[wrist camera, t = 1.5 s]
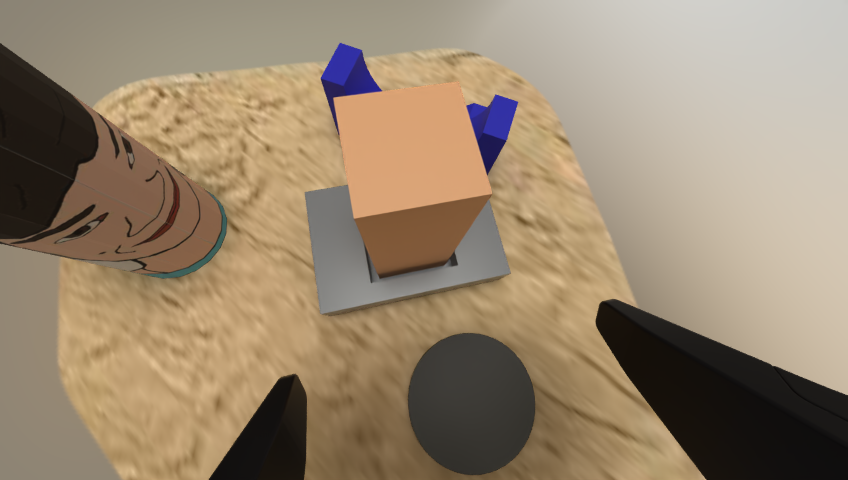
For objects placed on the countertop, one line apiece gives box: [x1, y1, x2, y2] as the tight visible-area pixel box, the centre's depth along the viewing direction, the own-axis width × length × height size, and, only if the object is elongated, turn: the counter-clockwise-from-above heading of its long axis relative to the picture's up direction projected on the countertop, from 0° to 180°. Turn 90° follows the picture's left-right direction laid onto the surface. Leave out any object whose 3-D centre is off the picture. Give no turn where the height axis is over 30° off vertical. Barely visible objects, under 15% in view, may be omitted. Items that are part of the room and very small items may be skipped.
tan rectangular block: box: [333, 81, 492, 279], centre depth 16 cm, size 5×5×12 cm
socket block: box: [305, 185, 511, 316], centre depth 21 cm, size 8×12×2 cm, turn 103°
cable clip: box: [321, 43, 518, 175], centre depth 23 cm, size 12×4×6 cm, turn 71°
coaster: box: [408, 333, 535, 475], centre depth 20 cm, size 8×8×1 cm
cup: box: [0, 43, 227, 278], centre depth 15 cm, size 7×7×15 cm
